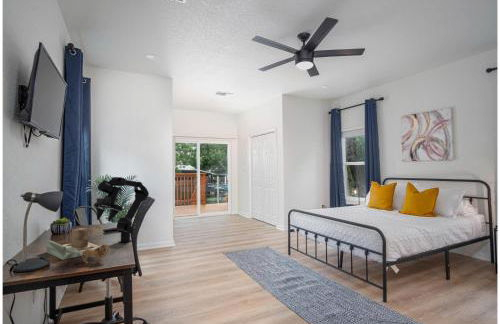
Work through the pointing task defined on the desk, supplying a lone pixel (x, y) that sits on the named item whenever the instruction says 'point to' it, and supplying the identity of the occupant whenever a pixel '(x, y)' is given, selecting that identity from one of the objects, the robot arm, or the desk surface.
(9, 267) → the desk surface
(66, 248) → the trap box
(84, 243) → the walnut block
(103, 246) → the lion figurine
